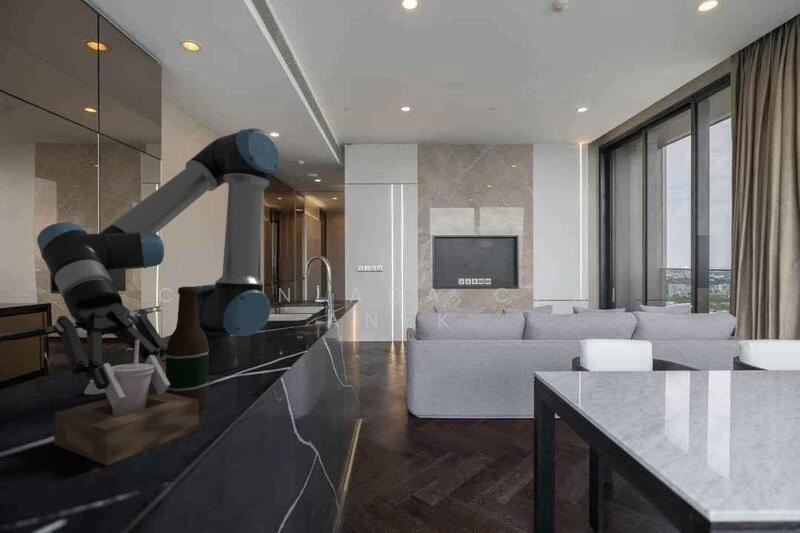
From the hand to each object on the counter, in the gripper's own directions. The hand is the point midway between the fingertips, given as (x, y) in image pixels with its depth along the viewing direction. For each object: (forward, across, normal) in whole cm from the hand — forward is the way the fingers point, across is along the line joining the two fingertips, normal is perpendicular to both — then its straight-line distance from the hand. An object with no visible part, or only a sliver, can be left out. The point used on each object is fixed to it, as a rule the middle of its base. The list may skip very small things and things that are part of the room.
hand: (143, 395), depth 63 cm
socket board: (+3, 0, -8) cm, 8 cm away
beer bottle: (0, -13, -11) cm, 17 cm away
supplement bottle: (-9, -14, -19) cm, 25 cm away
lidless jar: (-20, -11, -31) cm, 38 cm away
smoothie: (+2, 0, -6) cm, 7 cm away
